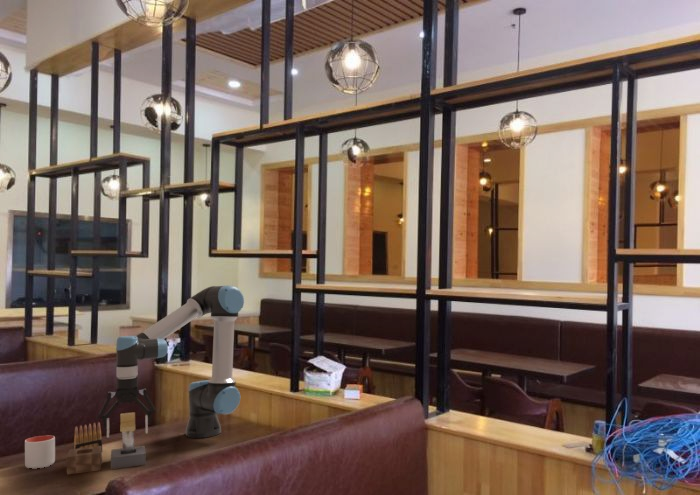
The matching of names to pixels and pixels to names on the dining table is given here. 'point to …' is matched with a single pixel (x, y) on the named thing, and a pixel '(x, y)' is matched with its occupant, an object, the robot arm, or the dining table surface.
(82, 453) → the frame
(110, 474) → the dining table surface
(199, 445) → the dining table surface
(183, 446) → the dining table surface
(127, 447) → the peg
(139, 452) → the socket block
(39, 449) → the cup
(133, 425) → the latch
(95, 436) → the ammunition clip
